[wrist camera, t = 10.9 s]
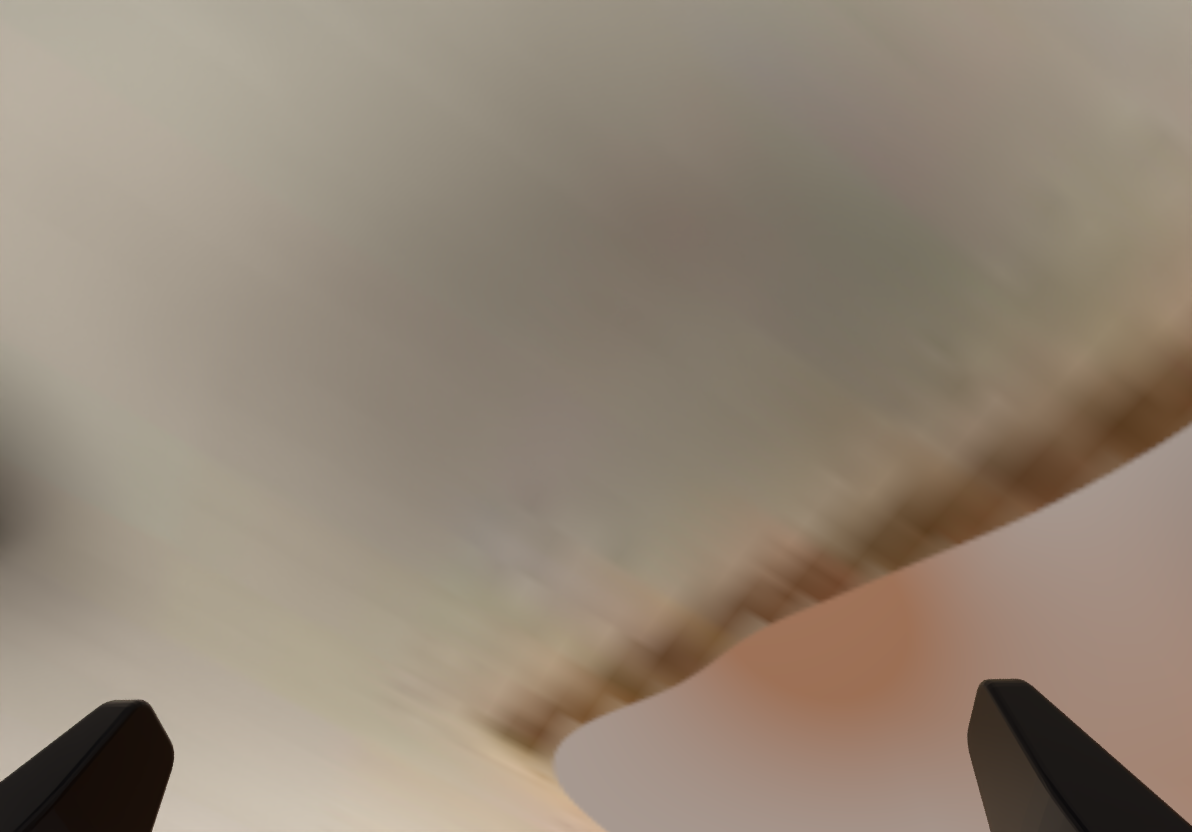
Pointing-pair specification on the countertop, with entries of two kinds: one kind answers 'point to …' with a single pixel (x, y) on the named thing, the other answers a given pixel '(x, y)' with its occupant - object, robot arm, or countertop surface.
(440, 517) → the countertop surface
